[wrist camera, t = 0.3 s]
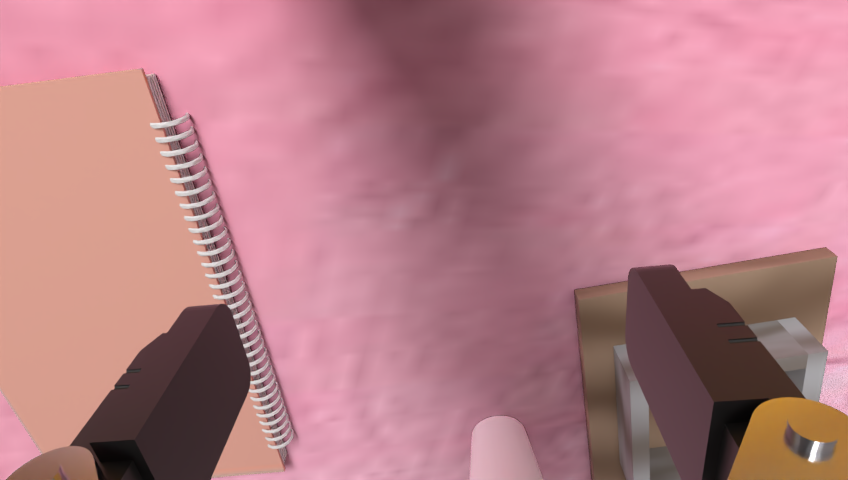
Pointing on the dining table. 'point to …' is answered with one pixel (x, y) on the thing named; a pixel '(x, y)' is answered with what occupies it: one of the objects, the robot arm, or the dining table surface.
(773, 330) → the collar board
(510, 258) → the dining table surface
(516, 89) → the dining table surface
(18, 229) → the notebook
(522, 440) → the smoothie
